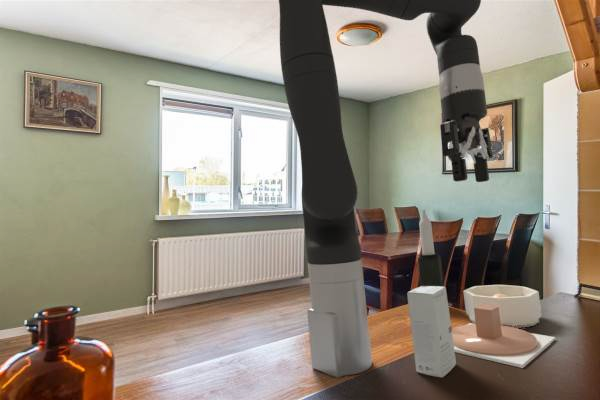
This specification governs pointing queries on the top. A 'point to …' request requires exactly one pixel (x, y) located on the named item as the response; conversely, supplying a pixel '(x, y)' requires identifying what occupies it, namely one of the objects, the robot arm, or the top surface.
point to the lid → (492, 335)
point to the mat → (514, 360)
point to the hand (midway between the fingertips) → (472, 181)
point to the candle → (428, 256)
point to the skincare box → (431, 330)
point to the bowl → (505, 303)
